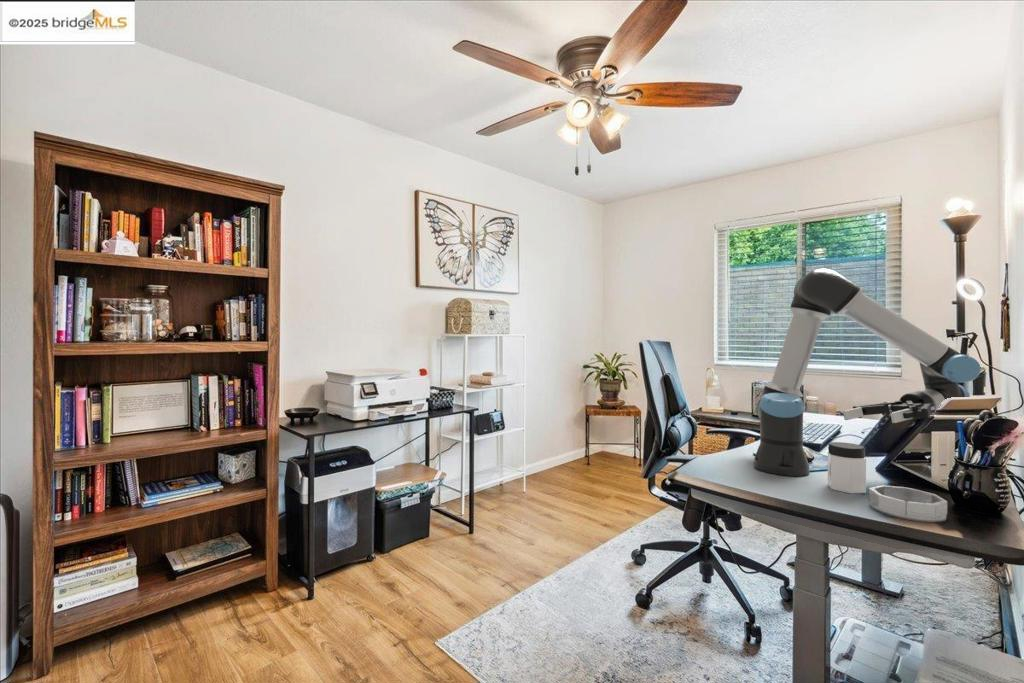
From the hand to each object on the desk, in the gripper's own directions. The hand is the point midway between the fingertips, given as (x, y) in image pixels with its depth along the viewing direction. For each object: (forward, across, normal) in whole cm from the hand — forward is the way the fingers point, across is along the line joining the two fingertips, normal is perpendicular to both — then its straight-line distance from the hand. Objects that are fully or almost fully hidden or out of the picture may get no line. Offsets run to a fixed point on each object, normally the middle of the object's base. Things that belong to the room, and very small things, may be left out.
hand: (867, 416), depth 131 cm
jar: (+12, 0, -18) cm, 22 cm away
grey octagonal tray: (+14, -16, -19) cm, 29 cm away
